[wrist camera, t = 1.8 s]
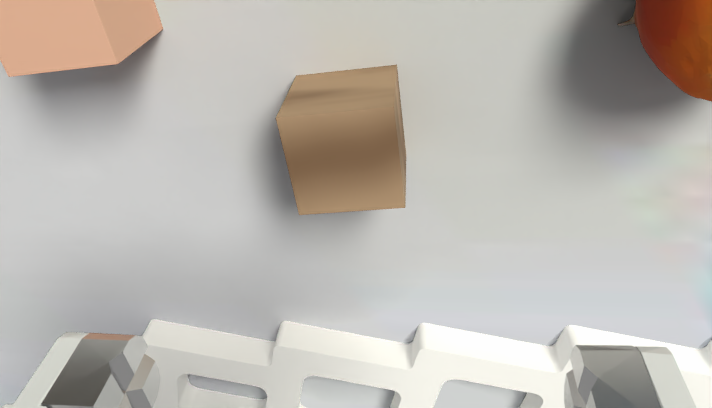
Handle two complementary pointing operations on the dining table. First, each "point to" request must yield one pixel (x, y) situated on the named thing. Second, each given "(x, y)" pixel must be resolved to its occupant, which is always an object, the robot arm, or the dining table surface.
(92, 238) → the dining table surface
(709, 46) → the fruit
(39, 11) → the terracotta block
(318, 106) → the walnut block
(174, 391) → the trivet
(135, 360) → the robot arm
